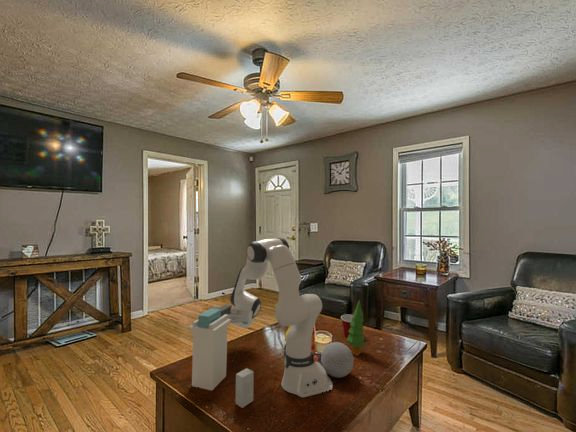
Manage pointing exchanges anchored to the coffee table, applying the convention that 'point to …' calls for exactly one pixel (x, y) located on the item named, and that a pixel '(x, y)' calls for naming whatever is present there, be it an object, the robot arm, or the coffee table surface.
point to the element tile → (287, 332)
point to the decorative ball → (337, 359)
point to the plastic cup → (346, 323)
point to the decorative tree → (356, 330)
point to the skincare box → (244, 387)
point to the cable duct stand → (209, 353)
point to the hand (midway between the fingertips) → (225, 309)
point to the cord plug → (212, 315)
